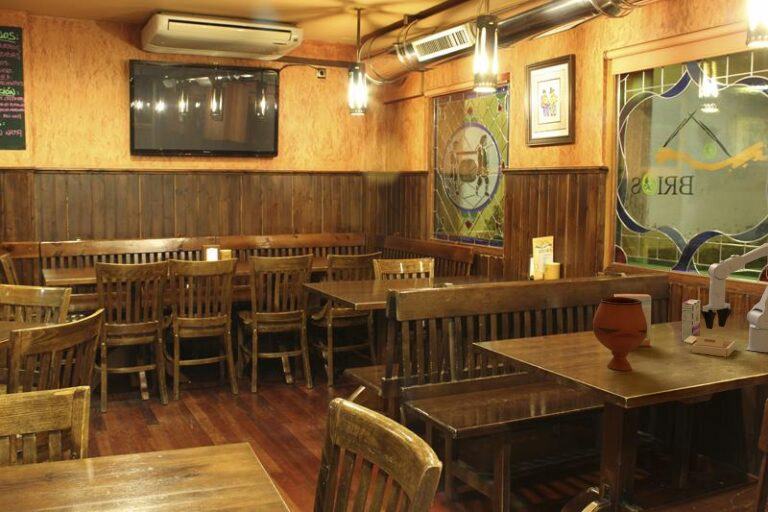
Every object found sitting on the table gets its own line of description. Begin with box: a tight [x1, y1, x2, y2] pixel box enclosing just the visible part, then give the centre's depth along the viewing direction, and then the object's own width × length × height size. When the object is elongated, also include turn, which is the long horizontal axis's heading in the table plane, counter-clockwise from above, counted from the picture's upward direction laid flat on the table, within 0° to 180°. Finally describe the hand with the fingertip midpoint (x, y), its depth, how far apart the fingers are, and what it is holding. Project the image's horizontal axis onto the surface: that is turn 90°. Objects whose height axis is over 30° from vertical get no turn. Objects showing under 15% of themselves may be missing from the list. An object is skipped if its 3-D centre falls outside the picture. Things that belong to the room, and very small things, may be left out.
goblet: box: [592, 296, 647, 371], centre depth 277 cm, size 19×19×25 cm
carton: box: [691, 339, 736, 358], centre depth 304 cm, size 13×17×3 cm
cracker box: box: [613, 293, 652, 347], centre depth 314 cm, size 14×6×21 cm, turn 84°
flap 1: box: [682, 336, 697, 345], centre depth 309 cm, size 3×13×1 cm, turn 147°
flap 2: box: [695, 336, 725, 347], centre depth 298 cm, size 3×10×1 cm
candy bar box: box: [680, 299, 702, 342], centre depth 324 cm, size 11×5×16 cm, turn 143°
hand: (715, 327), depth 305 cm, fingers open, 7 cm apart
